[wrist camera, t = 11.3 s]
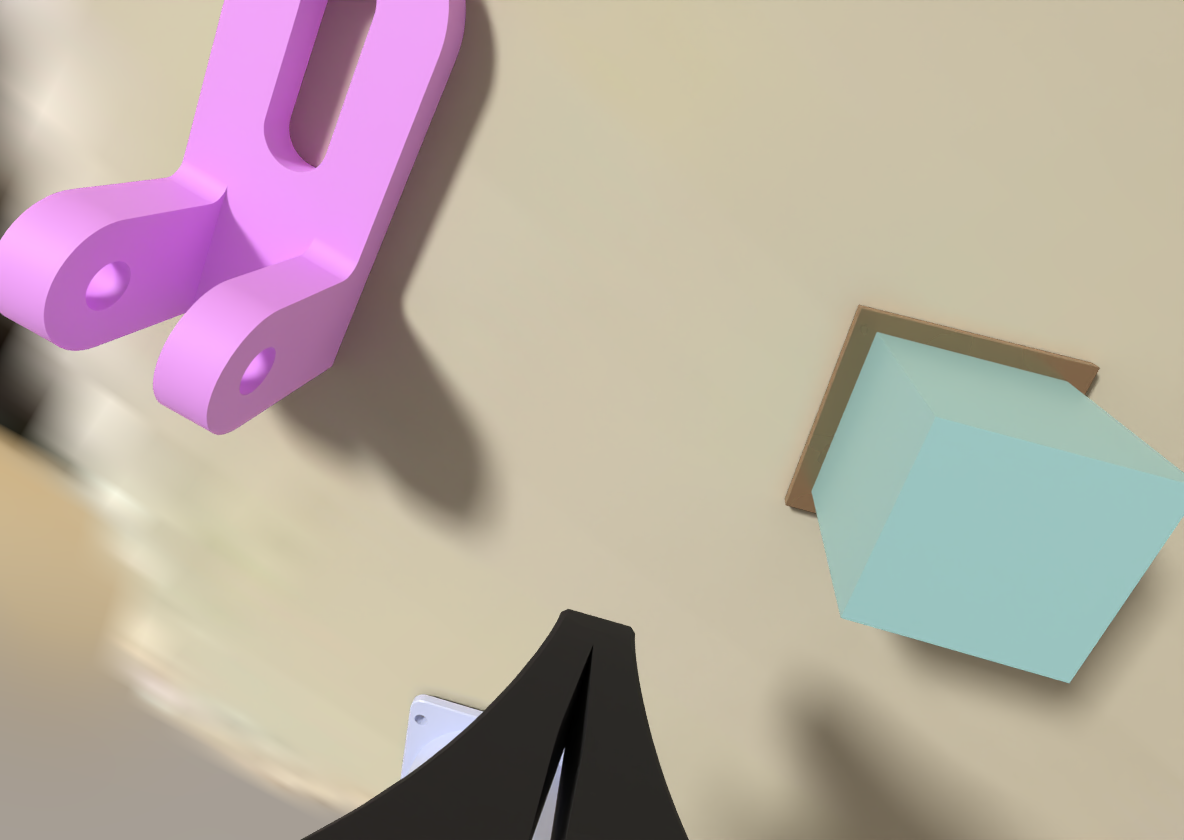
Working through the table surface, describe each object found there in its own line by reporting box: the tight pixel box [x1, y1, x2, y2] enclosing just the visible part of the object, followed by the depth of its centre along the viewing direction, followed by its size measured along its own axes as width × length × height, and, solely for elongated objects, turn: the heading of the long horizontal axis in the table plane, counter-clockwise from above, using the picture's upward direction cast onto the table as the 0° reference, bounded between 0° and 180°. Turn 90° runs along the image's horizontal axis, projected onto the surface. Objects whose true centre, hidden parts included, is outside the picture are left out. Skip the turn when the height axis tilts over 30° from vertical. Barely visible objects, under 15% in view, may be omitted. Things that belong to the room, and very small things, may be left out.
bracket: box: [0, 0, 466, 435], centre depth 17 cm, size 13×6×7 cm, turn 150°
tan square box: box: [785, 305, 1099, 513], centre depth 19 cm, size 6×6×4 cm
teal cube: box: [811, 332, 1184, 683], centre depth 18 cm, size 5×5×6 cm
